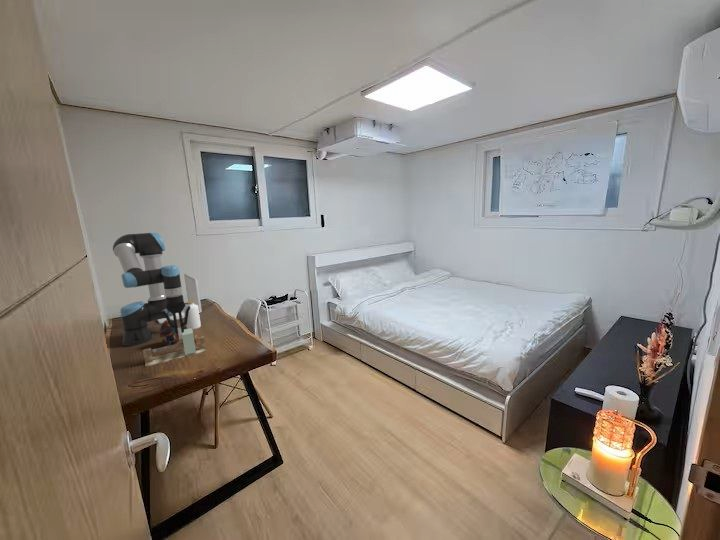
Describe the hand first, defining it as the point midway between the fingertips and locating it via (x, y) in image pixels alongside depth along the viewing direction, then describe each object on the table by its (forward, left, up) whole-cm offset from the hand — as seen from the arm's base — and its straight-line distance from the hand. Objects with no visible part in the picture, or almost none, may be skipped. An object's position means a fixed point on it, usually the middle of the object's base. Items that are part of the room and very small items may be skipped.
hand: (180, 338), depth 153 cm
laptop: (-68, +55, -9) cm, 88 cm away
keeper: (+2, +3, -9) cm, 9 cm away
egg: (-18, +9, -9) cm, 23 cm away
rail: (-2, -2, -9) cm, 9 cm away
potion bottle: (-26, +32, -9) cm, 43 cm away
